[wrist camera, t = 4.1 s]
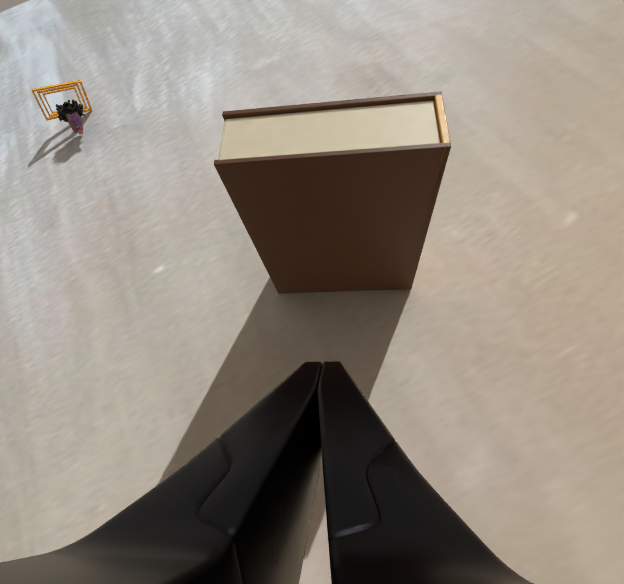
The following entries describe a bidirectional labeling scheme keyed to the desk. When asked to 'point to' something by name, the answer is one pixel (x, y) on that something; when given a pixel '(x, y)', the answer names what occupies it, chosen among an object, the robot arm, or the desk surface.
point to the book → (337, 188)
